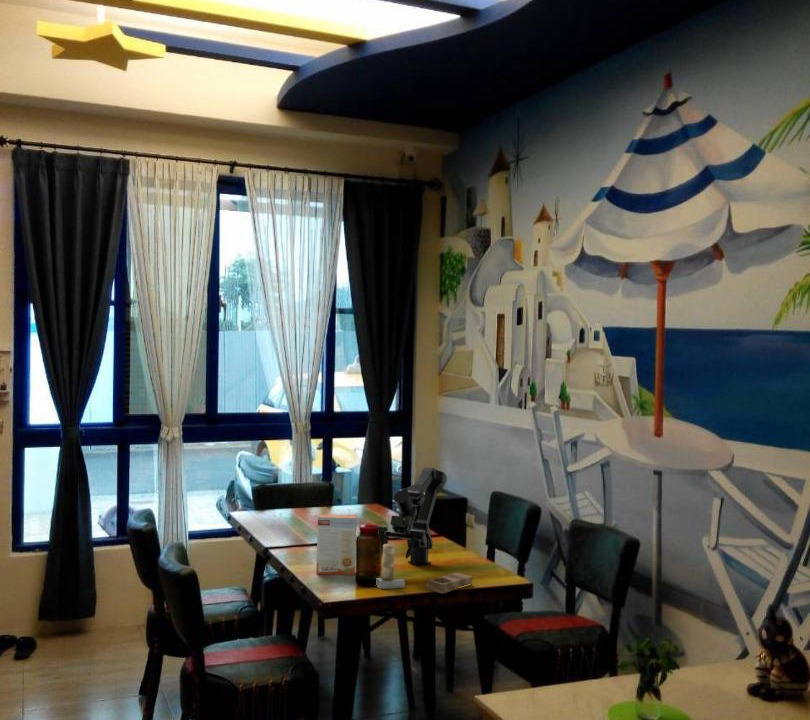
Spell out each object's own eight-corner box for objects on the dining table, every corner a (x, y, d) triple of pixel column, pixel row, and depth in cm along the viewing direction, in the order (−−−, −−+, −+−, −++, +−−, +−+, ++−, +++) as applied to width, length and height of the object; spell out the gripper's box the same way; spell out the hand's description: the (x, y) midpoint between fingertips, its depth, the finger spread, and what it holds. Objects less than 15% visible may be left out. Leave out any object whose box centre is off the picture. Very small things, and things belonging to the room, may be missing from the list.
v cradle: (372, 581, 301) (372, 574, 301) (405, 586, 297) (405, 579, 297) (365, 586, 295) (365, 579, 295) (398, 591, 291) (399, 584, 290)
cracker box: (355, 571, 314) (357, 514, 313) (354, 575, 308) (357, 517, 307) (316, 570, 313) (319, 513, 313) (315, 574, 307) (317, 516, 307)
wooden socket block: (456, 580, 307) (456, 572, 306) (471, 585, 302) (472, 576, 302) (426, 588, 295) (427, 580, 295) (442, 593, 290) (442, 584, 290)
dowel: (391, 583, 300) (393, 543, 300) (394, 586, 296) (395, 546, 296) (380, 583, 299) (382, 543, 299) (382, 587, 295) (384, 546, 295)
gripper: (376, 503, 310) (363, 540, 300) (425, 509, 304) (413, 547, 294) (384, 521, 318) (371, 557, 308) (431, 526, 311) (420, 564, 301)
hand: (393, 556), depth 303 cm, fingers open, 9 cm apart
